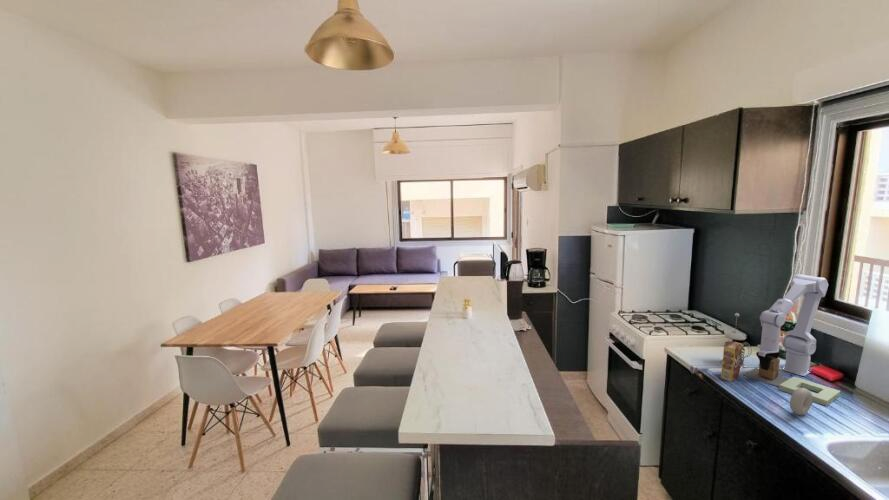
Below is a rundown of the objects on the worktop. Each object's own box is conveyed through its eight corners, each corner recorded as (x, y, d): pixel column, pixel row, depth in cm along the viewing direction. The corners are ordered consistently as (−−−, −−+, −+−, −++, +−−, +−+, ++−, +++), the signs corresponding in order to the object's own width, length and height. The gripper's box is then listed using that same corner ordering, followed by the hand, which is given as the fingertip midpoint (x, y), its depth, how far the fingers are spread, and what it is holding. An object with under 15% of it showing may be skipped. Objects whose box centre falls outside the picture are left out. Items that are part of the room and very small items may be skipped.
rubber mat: (755, 368, 166) (756, 367, 166) (790, 379, 155) (790, 378, 155) (743, 375, 160) (743, 374, 160) (777, 387, 149) (778, 386, 149)
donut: (798, 420, 127) (801, 393, 126) (786, 414, 131) (789, 389, 129) (812, 412, 131) (815, 387, 130) (800, 408, 135) (803, 383, 133)
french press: (728, 357, 177) (732, 309, 174) (755, 367, 167) (760, 316, 163) (715, 361, 174) (719, 311, 171) (741, 371, 163) (746, 319, 160)
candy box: (732, 382, 154) (735, 348, 152) (720, 378, 158) (723, 345, 156) (740, 376, 159) (743, 343, 157) (728, 372, 163) (731, 340, 161)
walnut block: (763, 371, 160) (765, 355, 159) (777, 376, 156) (779, 359, 155) (758, 374, 158) (760, 357, 157) (772, 379, 154) (774, 362, 152)
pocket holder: (793, 380, 154) (793, 376, 154) (839, 395, 142) (840, 390, 142) (778, 389, 148) (779, 384, 147) (826, 405, 135) (827, 401, 135)
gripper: (766, 332, 162) (763, 360, 164) (751, 338, 155) (748, 368, 157) (786, 337, 156) (783, 366, 158) (771, 344, 149) (768, 374, 151)
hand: (767, 368), depth 157 cm, fingers closed on walnut block, 5 cm apart
